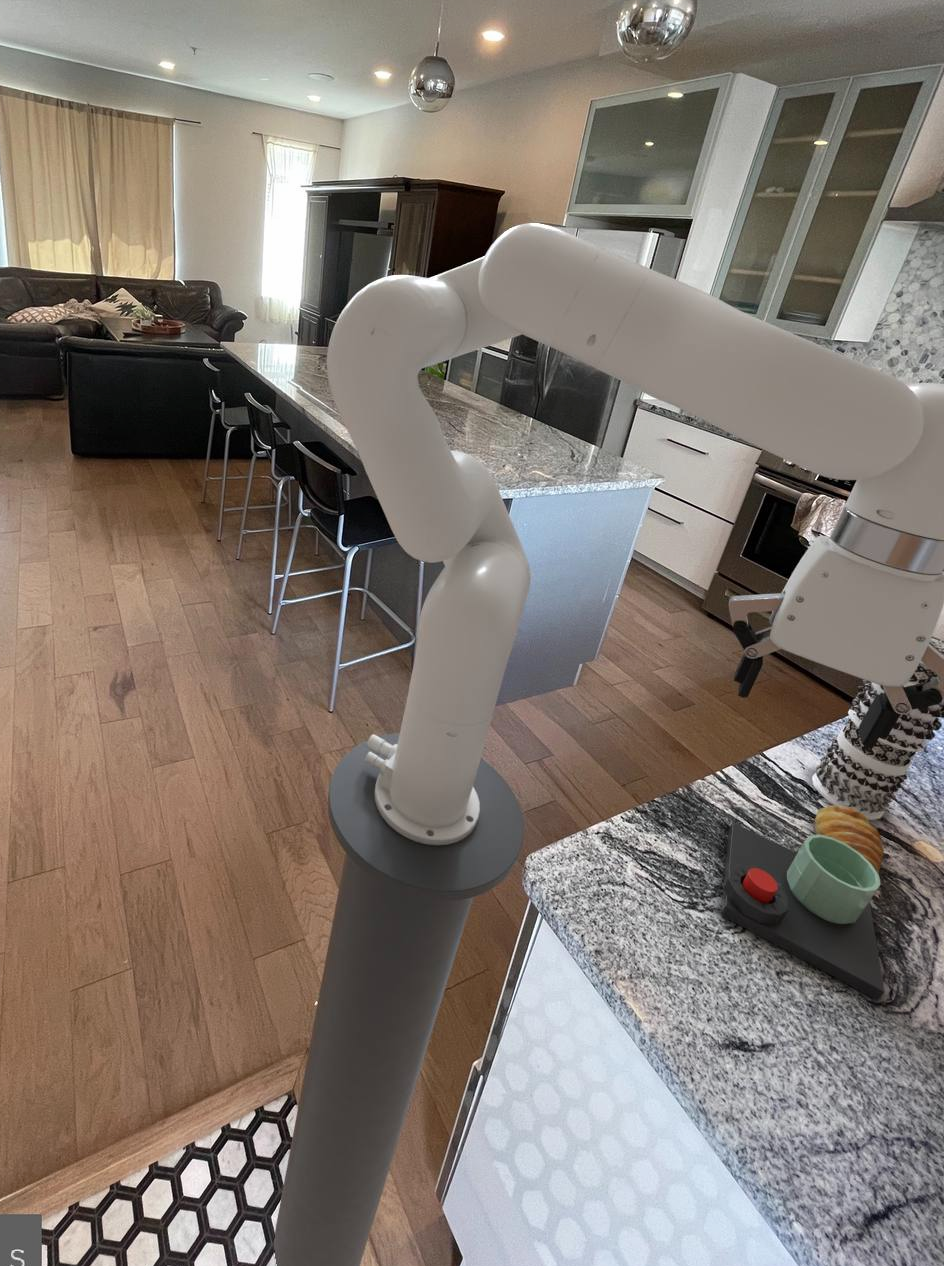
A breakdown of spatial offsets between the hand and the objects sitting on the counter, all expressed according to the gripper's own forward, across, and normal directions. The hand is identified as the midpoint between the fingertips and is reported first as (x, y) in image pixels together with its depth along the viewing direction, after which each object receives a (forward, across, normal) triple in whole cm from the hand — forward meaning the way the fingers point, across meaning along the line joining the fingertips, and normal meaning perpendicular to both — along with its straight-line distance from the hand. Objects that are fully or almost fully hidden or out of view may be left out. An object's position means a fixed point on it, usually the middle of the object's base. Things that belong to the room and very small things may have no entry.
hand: (801, 713), depth 57 cm
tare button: (+24, -5, -4) cm, 24 cm away
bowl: (+25, -11, -10) cm, 29 cm away
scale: (+26, -9, -8) cm, 29 cm away
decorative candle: (+26, -16, -34) cm, 46 cm away
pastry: (+26, -15, -22) cm, 38 cm away
